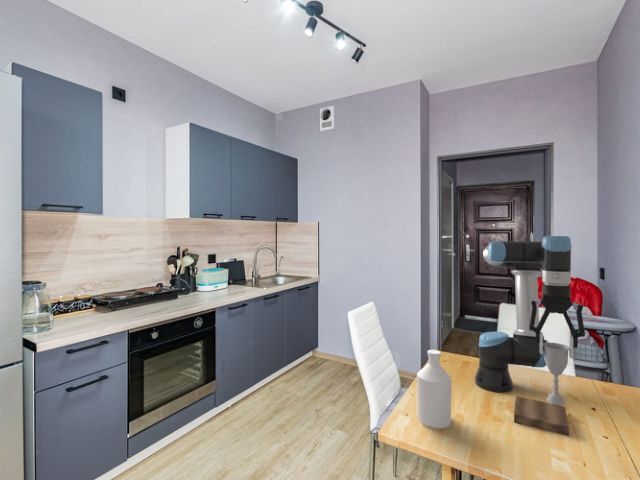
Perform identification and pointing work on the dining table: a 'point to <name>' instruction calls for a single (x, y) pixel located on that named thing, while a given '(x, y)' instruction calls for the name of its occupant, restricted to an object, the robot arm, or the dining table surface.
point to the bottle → (434, 393)
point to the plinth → (541, 415)
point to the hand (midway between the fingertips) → (555, 354)
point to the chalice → (556, 367)
